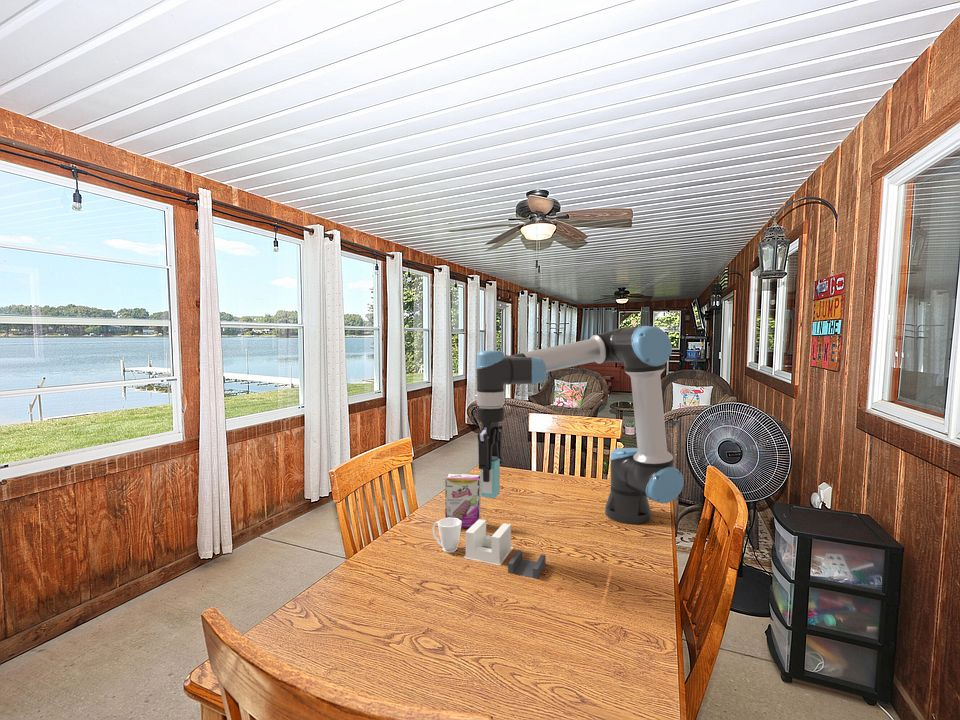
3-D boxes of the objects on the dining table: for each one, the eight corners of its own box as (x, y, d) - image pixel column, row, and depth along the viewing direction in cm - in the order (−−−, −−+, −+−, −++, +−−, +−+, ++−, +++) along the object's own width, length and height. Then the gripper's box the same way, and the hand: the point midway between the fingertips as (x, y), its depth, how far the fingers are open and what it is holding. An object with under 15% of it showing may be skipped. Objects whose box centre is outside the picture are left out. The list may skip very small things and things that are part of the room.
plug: (499, 493, 123) (499, 456, 123) (494, 498, 120) (494, 460, 119) (486, 491, 125) (486, 455, 124) (481, 496, 121) (481, 458, 121)
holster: (545, 565, 117) (545, 555, 117) (537, 581, 110) (537, 569, 110) (517, 560, 120) (517, 549, 120) (507, 574, 113) (507, 563, 113)
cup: (451, 557, 122) (451, 529, 122) (425, 547, 128) (424, 520, 128) (467, 547, 128) (466, 520, 127) (441, 538, 134) (440, 512, 133)
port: (513, 549, 127) (513, 523, 126) (500, 567, 117) (500, 539, 116) (478, 542, 131) (478, 517, 131) (462, 559, 121) (462, 532, 121)
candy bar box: (445, 528, 141) (444, 477, 141) (447, 521, 146) (447, 473, 146) (479, 529, 140) (479, 478, 140) (481, 522, 145) (480, 474, 145)
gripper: (488, 401, 130) (488, 479, 132) (465, 410, 115) (465, 498, 116) (512, 403, 128) (512, 482, 129) (492, 412, 112) (492, 502, 113)
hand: (490, 489), depth 122 cm, fingers closed on plug, 4 cm apart
